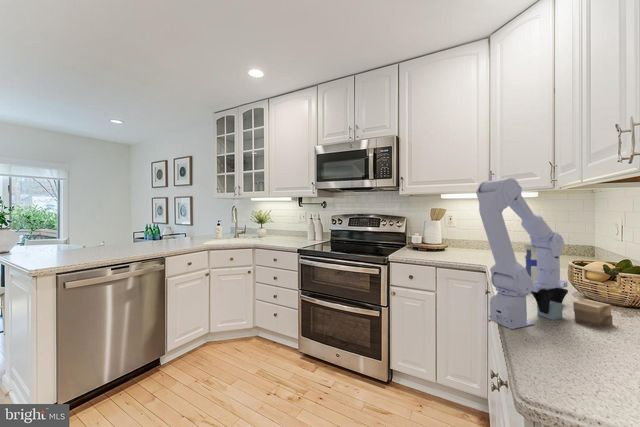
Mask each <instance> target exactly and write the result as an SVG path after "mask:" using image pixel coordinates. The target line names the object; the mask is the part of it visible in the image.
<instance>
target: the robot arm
mask: <svg viewBox="0 0 640 427" xmlns="http://www.w3.org/2000/svg"><path fill="white" fill-rule="evenodd" d="M475 193H476V197H477V200H478V209H479V210H478V211H479V215H480V218H481V221H482V225H483V227H484V231H485V234H486V237H487V240H488V244H489V248H490V249H491V253H492V255H493V260H494V262H495V264H493V265H492V266H491V267H490V282H491V285H492V286H493V287H494V288H495V291H497V293H496V294H495V295H493V296H491V298H490V299H489V300H490V301H489V310H490V312H489V314H490V315H489V317H488V318H487V319H488V321H491V322H493V323H495V324H498V325H500V326H503V327H506V328H508V329H510V330H514V329H518V328H519V329H520V328H524V327H528V326H532V325H535V322H534V321H531V320H528V315H527V314H528V312H527V311H528V310H527V309H528V308H527V296H529V295H530V293H531V295H532V296H533V298H534V299H535V302H536V305H537V304H538V307H539V310H540V312H542V313H545V314H548V312H549V304H550V301H554V302H558V303H562V304H563V301H564V299H565V297H566V296H567V294H569V290H568V289H566V288H568V281H567V280H563V279H561V266H560V265H561V264H560V262H561V261H560V257H561V256H562V254H563V251H562V250H563V248H564V246H565V240H564V238H563V236H562V235H561V234H560V233H557V232H555V231H553V230H552V228H551V227H550V225H549V224H548V223H547V222H546V221H545V219H544V217H543V216H542V215H539V214H535V213H534V212H533V211H532V209H531V208H530V207H529V205H528V203H527V201H526V200H525V198H524V197H523V195H522V186H521V185H520V183H519V181H518V180H517V179H515V178H514V177H507V178H502V179H494V180H489V181H488V180H486V181H482V182H481V183H480V184H479V185H478V188H477V189H476V191H475ZM508 207H509V208H510V209H511V210H512V211H513V212H514V213H515V214H516V215H517V216H518V217H519V219H520V220H521V223H520V225H521V227H522V228H523V229H524V231H526V233H527V234H528V236H529V238H530V243H531V244H532V246H534V247H535V248H536V253H537V282H535V283H534V284H533V281H532V278H531V277H530V276H529V275H528V273H527V270H526V268H525V266H523V265H522V264H520V262H518V261H517V259H516V255H515V252H514V249H513V245H512V242H511V239H510V235H509V232H508V228H507V226H506V225H507V224H506V222H505V219H504V216H503V211H504V210H505V209H507V208H508Z"/></svg>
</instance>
